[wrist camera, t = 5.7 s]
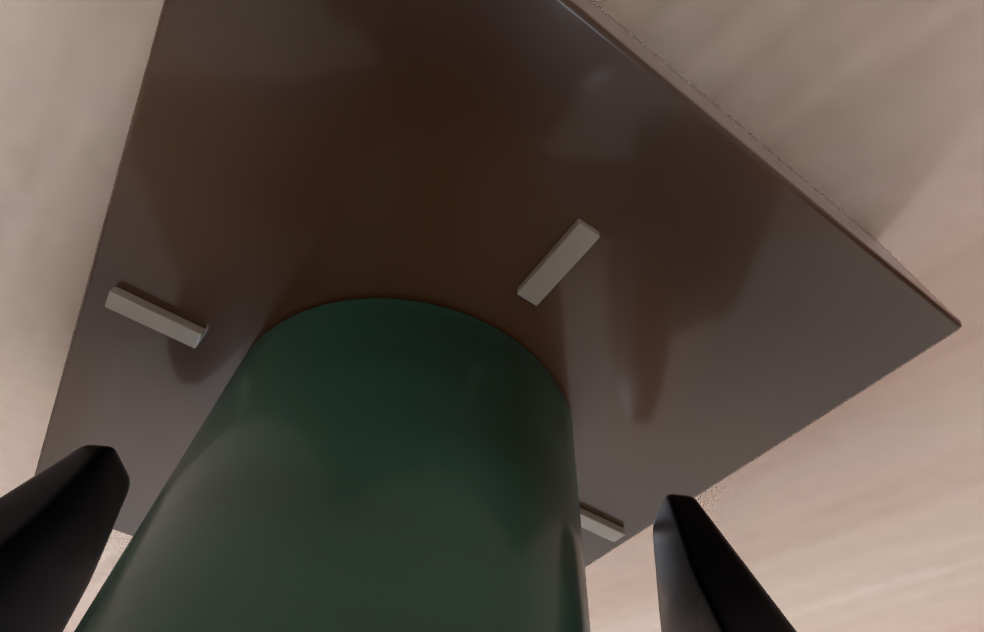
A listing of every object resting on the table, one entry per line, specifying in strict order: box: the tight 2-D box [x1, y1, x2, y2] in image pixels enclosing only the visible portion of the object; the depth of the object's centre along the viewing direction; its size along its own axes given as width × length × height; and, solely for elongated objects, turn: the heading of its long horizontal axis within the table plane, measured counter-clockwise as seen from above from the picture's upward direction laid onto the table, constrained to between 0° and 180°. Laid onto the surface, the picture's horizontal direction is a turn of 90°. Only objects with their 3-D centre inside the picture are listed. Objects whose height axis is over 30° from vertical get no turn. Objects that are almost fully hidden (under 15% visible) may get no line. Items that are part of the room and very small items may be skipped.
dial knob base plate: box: [35, 0, 962, 567], centre depth 11 cm, size 14×11×3 cm
